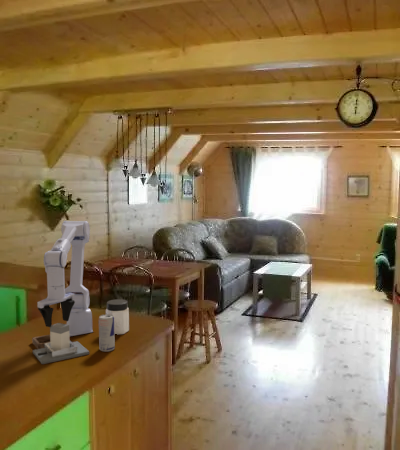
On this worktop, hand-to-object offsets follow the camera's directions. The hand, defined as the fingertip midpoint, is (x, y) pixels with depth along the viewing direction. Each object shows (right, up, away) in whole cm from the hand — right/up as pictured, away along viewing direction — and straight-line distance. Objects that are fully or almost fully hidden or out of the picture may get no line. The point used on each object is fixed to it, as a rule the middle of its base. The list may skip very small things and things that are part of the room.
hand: (57, 323), depth 162 cm
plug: (+1, -9, 0) cm, 9 cm away
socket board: (+1, -10, 0) cm, 10 cm away
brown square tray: (-7, -10, +9) cm, 15 cm away
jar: (+17, -8, +23) cm, 30 cm away
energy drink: (+16, -10, +4) cm, 20 cm away
